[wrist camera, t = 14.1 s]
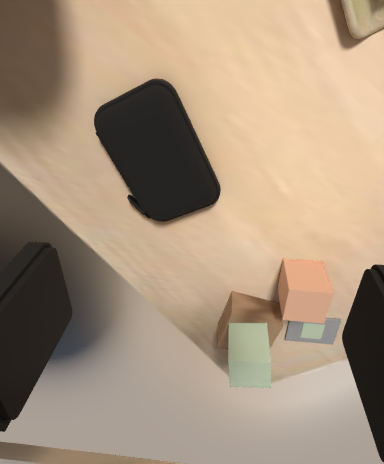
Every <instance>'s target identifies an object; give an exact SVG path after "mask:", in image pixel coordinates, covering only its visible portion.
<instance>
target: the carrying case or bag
mask: <svg viewBox="0 0 384 464" xmlns="http://www.w3.org/2000/svg"><path fill="white" fill-rule="evenodd" d="M94 125H95V129H96V131H97V132H96V135H97V136H98V137H99V139H100V141H101V142H102V144H103V146H104V147H105V149H106V151H107V152H108V154H109V156H110V157H111V159H112V161H113V162H114V164H115V166H116V167H117V169H118V171H119V172H120V174H121V176H122V177H123V179H124V180H125V182H126V184H127V185H128V187H129V189H130V190H131V192H132V194H133V195H134V197H135V198H134V197H133V196H131V195H128V197H127V198H128V200H129V202H130V203H131V204H132V205H134V206H135V207H136V208H137V209H138V210H139V211H140V212H141V213H142V214H143V215H144V214H145V215H146V216H147V217H148V218H152V219H154V220H156V221H162V222H164V221H169V220H172V219H174V218H177V217H180V216H182V215H185V214H188V213H191V212H193V211H196V210H199V209H201V208H204V207H207V206H210V205H212V204H214V203H215V202H216V201H217V200H218V198H219V196H220V184H219V182H218V180H217V177H216V175H215V173H214V171H213V169H212V166H211V164H210V162H209V160H208V158H207V156H206V154H205V151H204V149H203V147H202V145H201V143H200V141H199V139H198V136H197V134H196V132H195V130H194V128H193V126H192V123H191V121H190V119H189V117H188V115H187V113H186V110H185V108H184V106H183V104H182V102H181V100H180V98H179V96H178V93H177V91H176V90H175V88H174V87H173V86H172V85H171V84H170V83H169V82H167V81H165V80H163V79H152V80H149V81H147V82H145V83H144V84H142V85H140V86H138V87H136V88H134V89H132V90H130V91H128V92H126V93H125V94H123V95H121V96H119V97H117V98H115V99H113V100H111V101H109V102H107V103H106V104H104V105H102V106H101V107H100V108H99V109H98V110H97V112H96V114H95V118H94Z"/></svg>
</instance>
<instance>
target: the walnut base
mask: <svg viewBox="0 0 384 464" xmlns="http://www.w3.org/2000/svg"><path fill="white" fill-rule="evenodd" d="M229 323H267V328H268V338H269V347H271V346H272V344H273V342H274V341H275V339H276V337H277V336H278V334H279V332H280V331H281V329H282V327H283V324H282V318H281V311H280V304H279V303H276V302H272V301H268V300H264V299H261V298H257V297H253V296H249V295H245V294H242V293H238V292H234V291H232V293H231V295H230V297H229V299H228V302H227V304H226V306H225V309H224V311H223V313H222V316H221V318H220V320H219V322H218V335H217V347H221V348H225V349H228V340H229Z"/></svg>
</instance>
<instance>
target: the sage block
mask: <svg viewBox="0 0 384 464" xmlns="http://www.w3.org/2000/svg"><path fill="white" fill-rule="evenodd" d="M228 367H229V378H230V386H231V387H259V388H271V357H270V347H269V338H268V328H267V323H229V340H228Z"/></svg>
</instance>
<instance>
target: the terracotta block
mask: <svg viewBox="0 0 384 464" xmlns="http://www.w3.org/2000/svg"><path fill="white" fill-rule="evenodd" d="M278 294H279V300H280V307H281V314H282V320H288V321H300V322H311V323H322V324H324V323H325V320H326V316H327V313H328V310H329V307H330V304H331V301H332V298H333V294H334V292H333V289H332V286H331V283H330V281H329V278H328V275H327V272H326V269H325V266H324V263H323V261H313V260H299V259H285V258H283V262H282V267H281V272H280V277H279V282H278Z"/></svg>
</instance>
